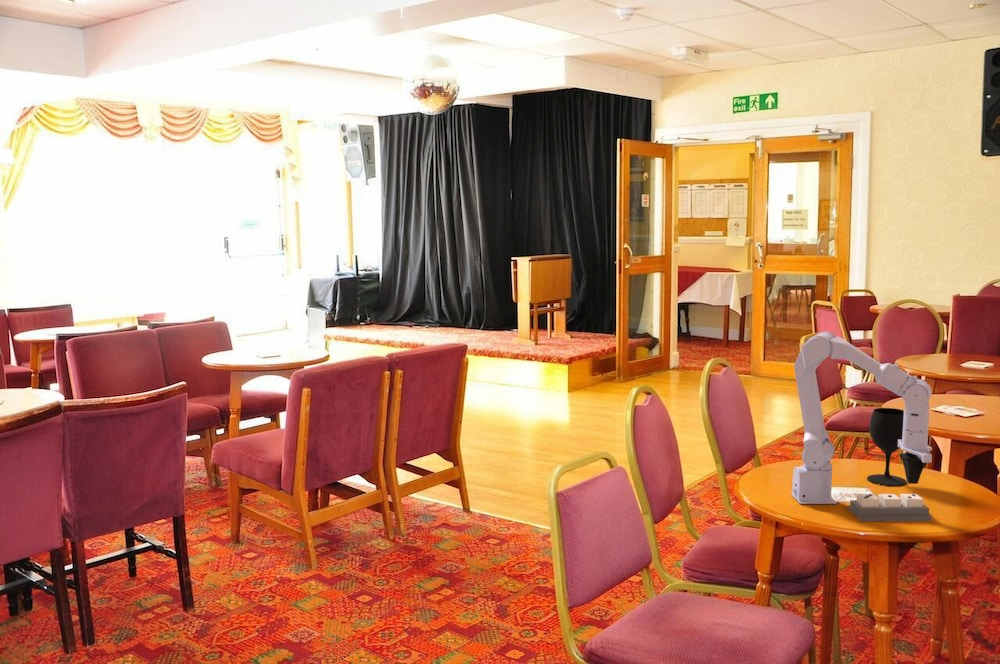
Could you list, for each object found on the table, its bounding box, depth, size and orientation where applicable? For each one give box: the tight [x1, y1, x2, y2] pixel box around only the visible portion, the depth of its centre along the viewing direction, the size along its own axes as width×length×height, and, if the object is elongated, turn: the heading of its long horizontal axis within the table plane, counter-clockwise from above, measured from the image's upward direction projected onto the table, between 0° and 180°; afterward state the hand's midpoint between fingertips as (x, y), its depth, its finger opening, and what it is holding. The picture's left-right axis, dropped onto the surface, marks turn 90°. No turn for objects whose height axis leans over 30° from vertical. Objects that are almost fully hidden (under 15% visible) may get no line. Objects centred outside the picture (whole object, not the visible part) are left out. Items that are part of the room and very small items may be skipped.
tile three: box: [856, 493, 879, 507], centre depth 224 cm, size 4×4×3 cm
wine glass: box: [866, 407, 908, 487], centre depth 251 cm, size 10×10×20 cm
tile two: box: [899, 493, 924, 507], centre depth 224 cm, size 4×4×3 cm
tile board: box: [847, 499, 933, 522], centre depth 225 cm, size 17×9×3 cm, turn 89°
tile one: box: [877, 493, 901, 507], centre depth 224 cm, size 4×4×3 cm
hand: (912, 482), depth 224 cm, fingers closed
